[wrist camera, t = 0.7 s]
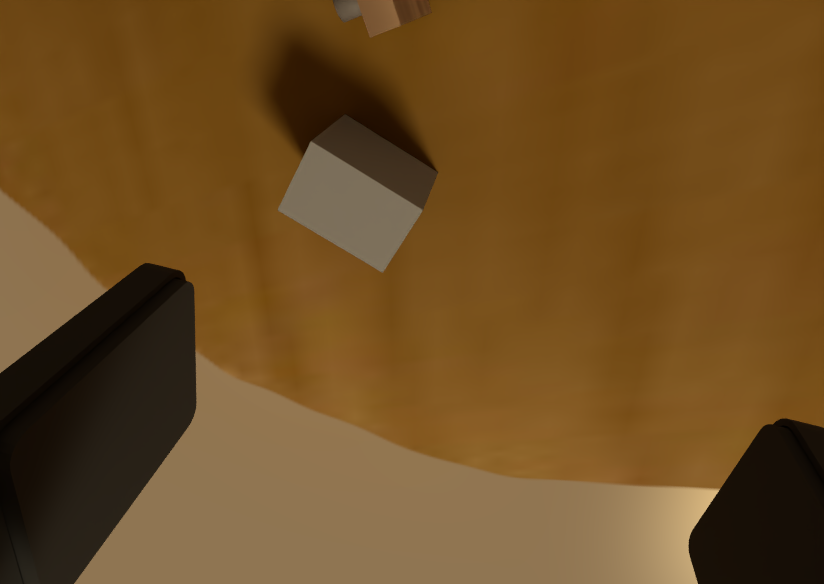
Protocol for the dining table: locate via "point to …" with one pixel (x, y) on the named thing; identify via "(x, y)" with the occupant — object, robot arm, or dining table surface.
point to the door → (382, 12)
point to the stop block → (358, 191)
